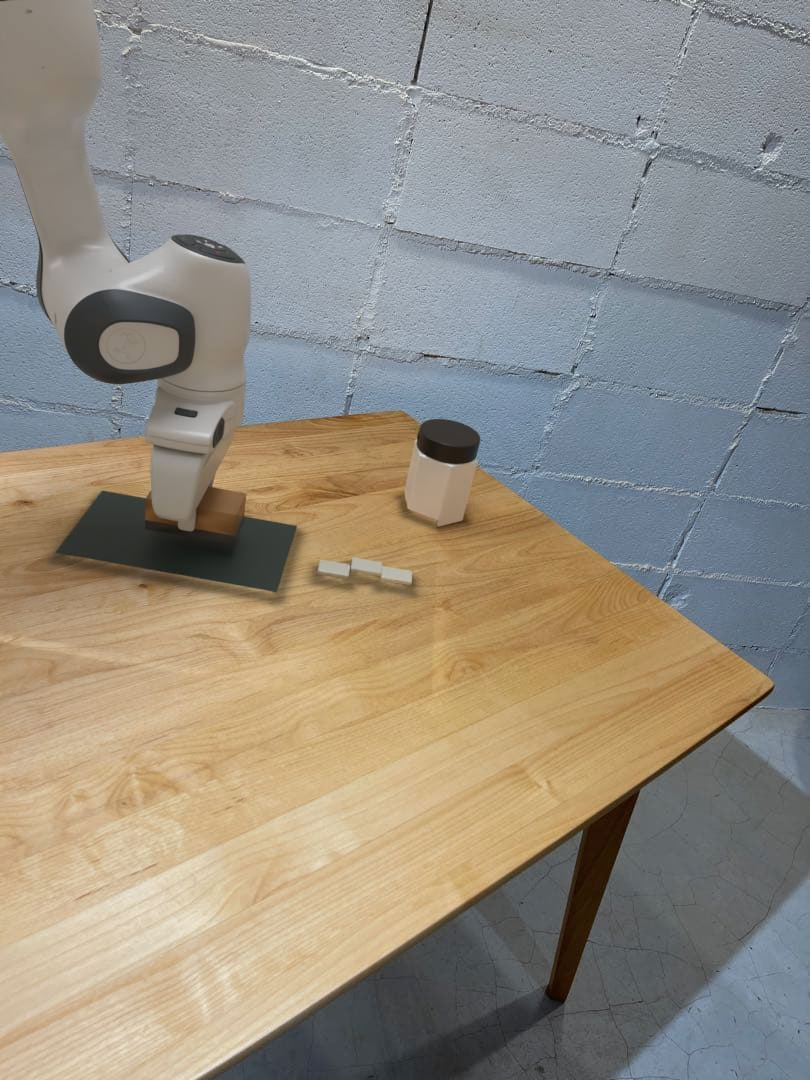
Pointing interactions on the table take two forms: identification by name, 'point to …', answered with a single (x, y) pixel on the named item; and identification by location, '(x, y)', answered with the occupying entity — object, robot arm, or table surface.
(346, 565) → the white rectangular block
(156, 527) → the eraser
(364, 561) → the white rectangular block
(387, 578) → the white rectangular block
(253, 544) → the chalkboard
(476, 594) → the table surface
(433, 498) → the jar
